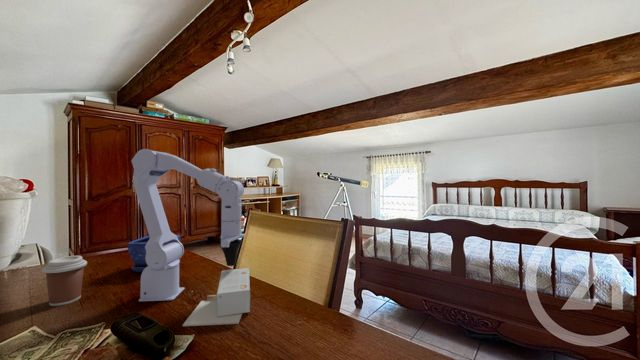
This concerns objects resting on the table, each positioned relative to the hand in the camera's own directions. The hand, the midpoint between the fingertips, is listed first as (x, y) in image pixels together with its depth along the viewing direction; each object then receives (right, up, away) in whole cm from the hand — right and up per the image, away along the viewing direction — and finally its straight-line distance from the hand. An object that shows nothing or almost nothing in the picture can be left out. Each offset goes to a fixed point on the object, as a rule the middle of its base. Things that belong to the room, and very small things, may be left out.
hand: (231, 265), depth 76 cm
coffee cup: (-47, -9, -3) cm, 48 cm away
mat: (0, -9, -9) cm, 13 cm away
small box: (+1, -4, +1) cm, 5 cm away
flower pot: (-38, -10, +24) cm, 46 cm away
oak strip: (0, -9, -2) cm, 10 cm away
